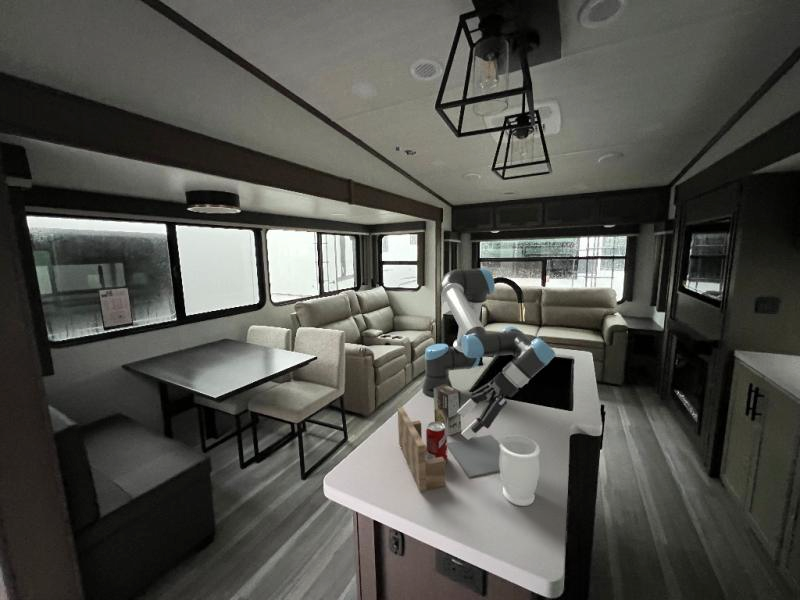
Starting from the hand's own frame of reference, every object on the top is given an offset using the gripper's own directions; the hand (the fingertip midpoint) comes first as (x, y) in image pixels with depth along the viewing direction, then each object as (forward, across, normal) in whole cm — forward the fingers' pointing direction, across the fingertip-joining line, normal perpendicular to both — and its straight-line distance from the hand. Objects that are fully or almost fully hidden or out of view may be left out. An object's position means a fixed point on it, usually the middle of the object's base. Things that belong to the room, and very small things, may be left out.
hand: (462, 424), depth 99 cm
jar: (0, -14, -19) cm, 23 cm away
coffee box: (+12, +20, -7) cm, 25 cm away
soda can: (+15, +1, -3) cm, 15 cm away
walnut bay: (+19, -1, +1) cm, 19 cm away
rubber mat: (+4, +4, -14) cm, 15 cm away
